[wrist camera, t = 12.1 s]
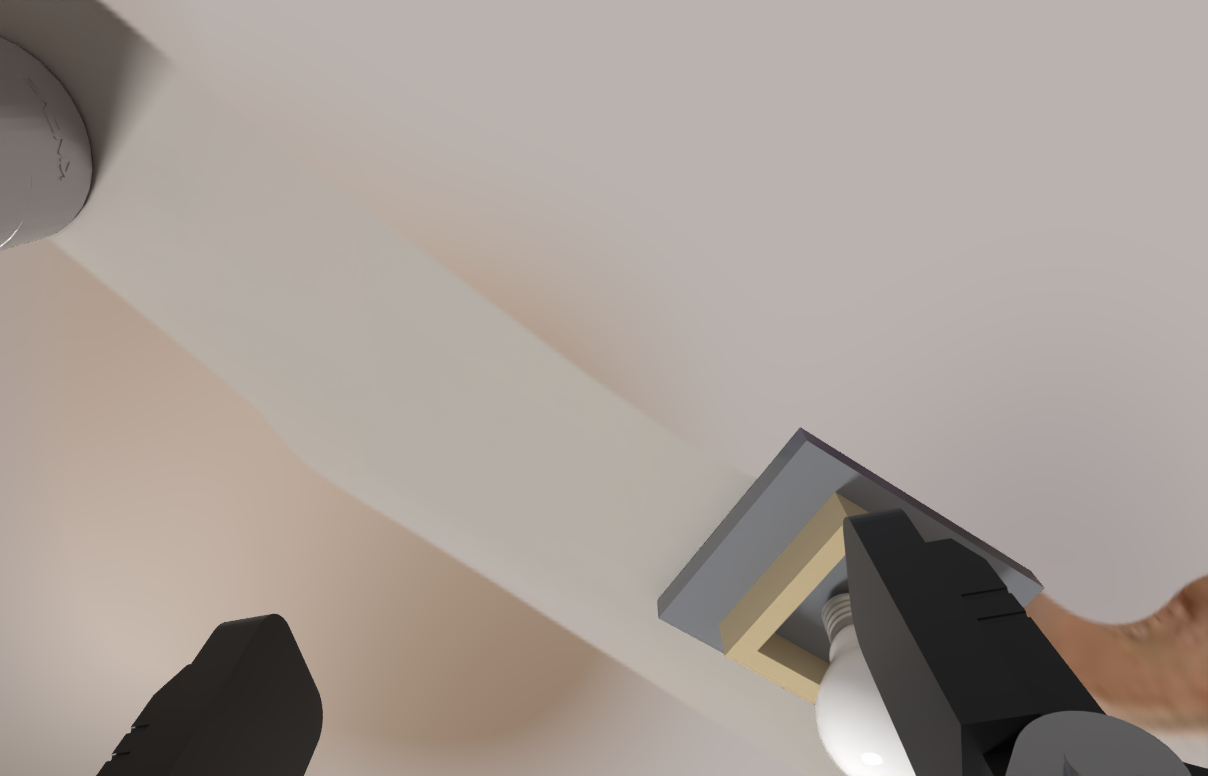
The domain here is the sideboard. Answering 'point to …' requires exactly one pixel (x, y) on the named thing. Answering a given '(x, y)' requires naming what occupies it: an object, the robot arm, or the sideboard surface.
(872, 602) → the robot arm
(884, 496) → the bulb socket
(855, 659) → the lightbulb
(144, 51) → the sideboard surface
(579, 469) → the sideboard surface
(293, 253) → the sideboard surface
